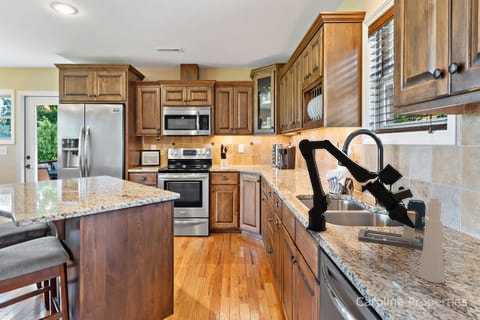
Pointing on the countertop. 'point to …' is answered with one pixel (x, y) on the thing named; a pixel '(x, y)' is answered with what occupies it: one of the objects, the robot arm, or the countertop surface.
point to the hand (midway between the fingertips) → (413, 225)
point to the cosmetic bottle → (433, 245)
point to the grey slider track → (390, 238)
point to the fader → (408, 230)
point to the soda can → (418, 212)
